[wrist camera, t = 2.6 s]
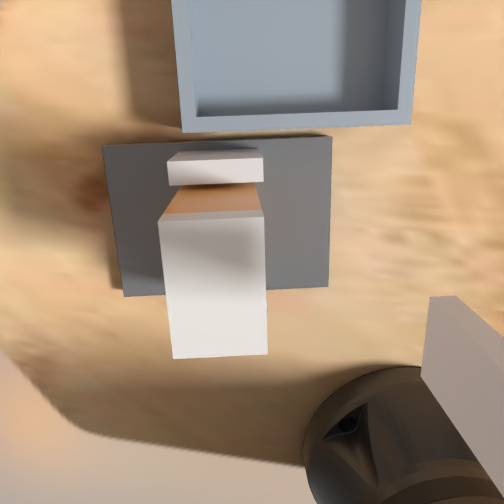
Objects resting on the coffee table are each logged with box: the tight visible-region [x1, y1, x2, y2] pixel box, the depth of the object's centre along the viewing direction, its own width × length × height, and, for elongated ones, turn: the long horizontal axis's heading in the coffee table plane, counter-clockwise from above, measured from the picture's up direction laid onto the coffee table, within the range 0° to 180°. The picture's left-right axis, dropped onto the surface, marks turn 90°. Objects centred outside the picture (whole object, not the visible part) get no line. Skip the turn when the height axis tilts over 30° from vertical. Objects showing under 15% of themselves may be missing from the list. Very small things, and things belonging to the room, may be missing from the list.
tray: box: [171, 0, 422, 133], centre depth 23 cm, size 11×13×4 cm
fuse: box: [158, 182, 268, 359], centre depth 22 cm, size 6×4×11 cm, turn 2°
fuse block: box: [102, 136, 332, 311], centre depth 25 cm, size 10×14×6 cm
